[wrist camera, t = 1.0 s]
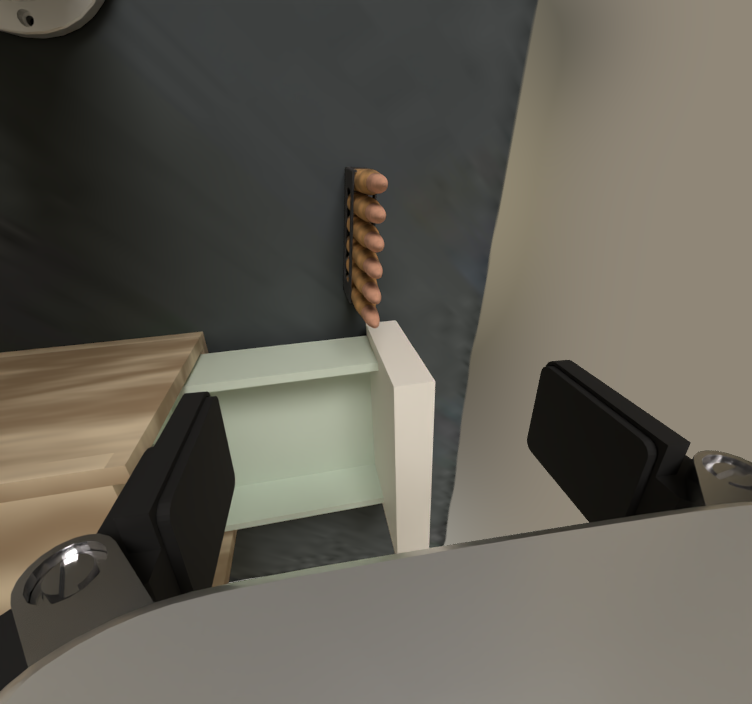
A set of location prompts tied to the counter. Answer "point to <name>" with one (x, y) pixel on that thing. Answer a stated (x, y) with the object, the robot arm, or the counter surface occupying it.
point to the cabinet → (81, 438)
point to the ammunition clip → (363, 240)
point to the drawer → (326, 429)
